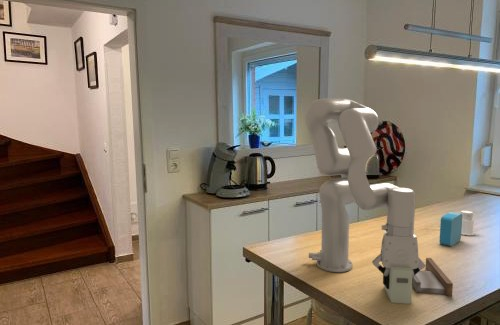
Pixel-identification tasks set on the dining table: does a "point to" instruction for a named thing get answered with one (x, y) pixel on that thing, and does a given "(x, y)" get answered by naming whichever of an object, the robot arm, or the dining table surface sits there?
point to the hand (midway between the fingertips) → (397, 286)
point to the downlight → (467, 223)
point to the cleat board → (432, 280)
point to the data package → (450, 228)
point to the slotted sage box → (400, 285)
